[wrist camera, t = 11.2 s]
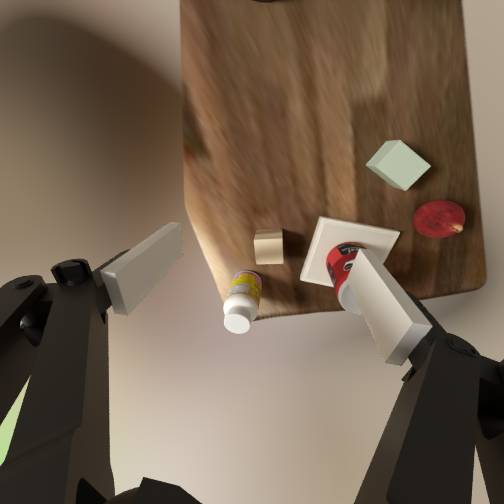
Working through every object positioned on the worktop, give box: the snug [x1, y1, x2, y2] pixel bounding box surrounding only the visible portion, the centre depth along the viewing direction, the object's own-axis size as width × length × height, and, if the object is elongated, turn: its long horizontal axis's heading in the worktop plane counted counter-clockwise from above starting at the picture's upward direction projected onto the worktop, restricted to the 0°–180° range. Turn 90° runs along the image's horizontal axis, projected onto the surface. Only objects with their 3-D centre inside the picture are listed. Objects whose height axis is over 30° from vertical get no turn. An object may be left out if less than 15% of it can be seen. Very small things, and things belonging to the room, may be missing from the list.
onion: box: [413, 200, 465, 238], centre depth 31 cm, size 6×6×8 cm
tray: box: [300, 216, 400, 287], centre depth 39 cm, size 14×14×1 cm
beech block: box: [254, 229, 283, 264], centre depth 38 cm, size 5×5×5 cm
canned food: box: [326, 242, 367, 315], centre depth 33 cm, size 8×8×11 cm
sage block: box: [366, 140, 431, 191], centre depth 30 cm, size 4×6×4 cm, turn 58°
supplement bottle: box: [223, 271, 262, 334], centre depth 40 cm, size 7×7×13 cm
